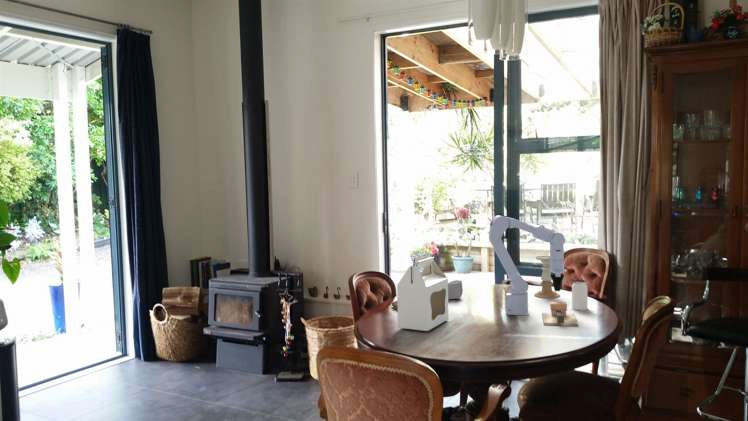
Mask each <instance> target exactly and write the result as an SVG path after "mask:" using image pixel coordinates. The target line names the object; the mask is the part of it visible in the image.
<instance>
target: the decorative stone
mask: <svg viewBox="0 0 748 421" xmlns="http://www.w3.org/2000/svg"><path fill="white" fill-rule="evenodd" d="M462 282H463V281H462V280H461V279H460V280H459V279H458V280H456V279H455V280H452V281H450V282H448V300H454V299H455V300H456V299H462V295H463V293H464V292H463V290H464V289H463V283H462Z"/></svg>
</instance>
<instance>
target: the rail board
mask: <svg viewBox="0 0 748 421" xmlns="http://www.w3.org/2000/svg"><path fill="white" fill-rule="evenodd" d="M541 315H542V321H543V322H542V323H543V326H557V327H558V326H559V327H579V322H578V320H577V318H576V315H575V313H567V312H566V316H564V315H562V312H561V310H556V315H551V312H542V313H541Z"/></svg>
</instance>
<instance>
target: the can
mask: <svg viewBox="0 0 748 421" xmlns="http://www.w3.org/2000/svg"><path fill="white" fill-rule="evenodd" d="M588 303H589V302H588V284H587V282H585V281H573V282H572V284H571V305H572V306H571V308H572V310H575V311H587V310H588V308H589V307H588V305H589V304H588Z"/></svg>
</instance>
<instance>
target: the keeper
mask: <svg viewBox="0 0 748 421" xmlns="http://www.w3.org/2000/svg"><path fill="white" fill-rule="evenodd" d="M549 309H550V313H551V315H556V310H561V312H562V315H564V316H566V313H567V311H568V304H567V301H549Z"/></svg>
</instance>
